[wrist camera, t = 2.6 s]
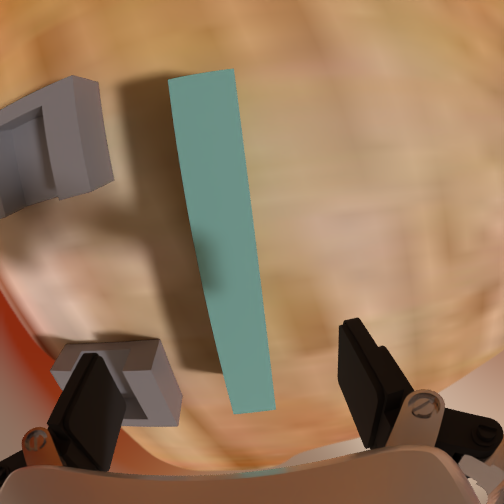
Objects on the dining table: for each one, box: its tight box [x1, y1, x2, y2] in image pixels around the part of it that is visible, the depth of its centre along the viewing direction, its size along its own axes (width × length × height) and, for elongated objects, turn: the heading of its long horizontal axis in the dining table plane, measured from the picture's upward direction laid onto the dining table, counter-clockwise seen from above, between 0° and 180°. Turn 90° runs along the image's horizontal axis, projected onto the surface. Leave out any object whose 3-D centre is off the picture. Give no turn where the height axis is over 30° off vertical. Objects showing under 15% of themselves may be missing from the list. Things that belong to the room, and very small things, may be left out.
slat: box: [168, 69, 276, 414], centre depth 18 cm, size 21×3×4 cm, turn 7°
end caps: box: [0, 75, 182, 427], centre depth 18 cm, size 25×9×4 cm, turn 8°
